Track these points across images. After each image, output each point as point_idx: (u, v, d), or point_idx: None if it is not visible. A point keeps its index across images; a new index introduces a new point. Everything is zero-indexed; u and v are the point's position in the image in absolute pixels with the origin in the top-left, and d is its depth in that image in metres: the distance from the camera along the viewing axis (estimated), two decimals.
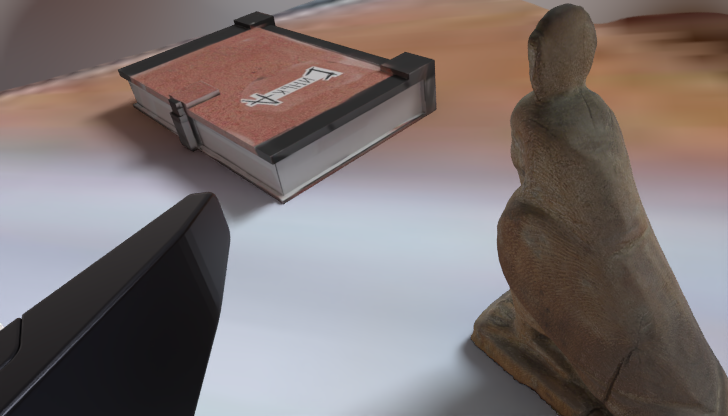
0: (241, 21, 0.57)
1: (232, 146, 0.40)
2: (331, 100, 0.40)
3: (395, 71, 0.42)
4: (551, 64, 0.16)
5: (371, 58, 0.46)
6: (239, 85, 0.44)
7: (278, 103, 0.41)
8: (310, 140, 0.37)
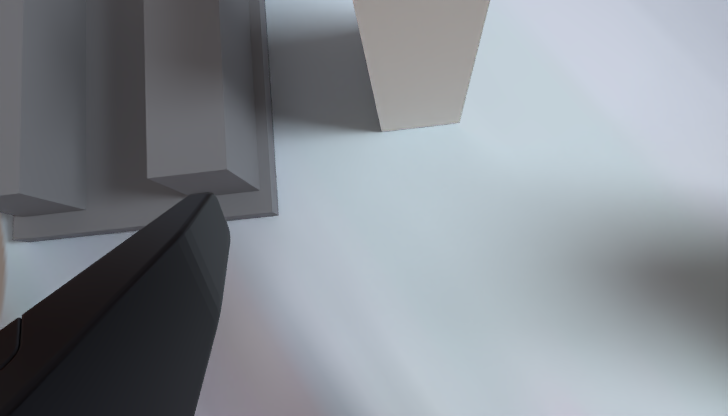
0: None
1: None
2: None
3: None
4: None
5: None
6: None
7: None
8: None
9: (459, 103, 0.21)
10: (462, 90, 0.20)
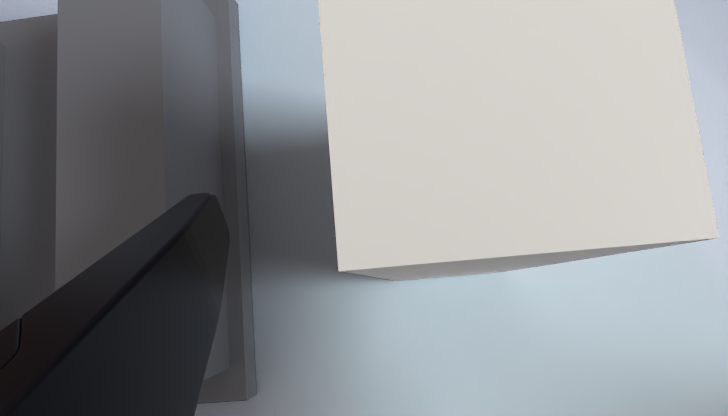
0: None
1: None
2: None
3: None
4: None
5: None
6: None
7: None
8: None
9: None
10: None
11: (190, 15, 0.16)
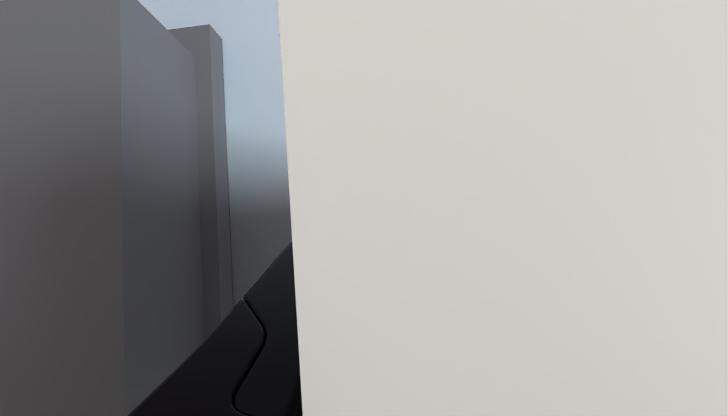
0: None
1: None
2: None
3: None
4: None
5: None
6: None
7: None
8: None
9: None
10: None
11: (161, 62, 0.14)
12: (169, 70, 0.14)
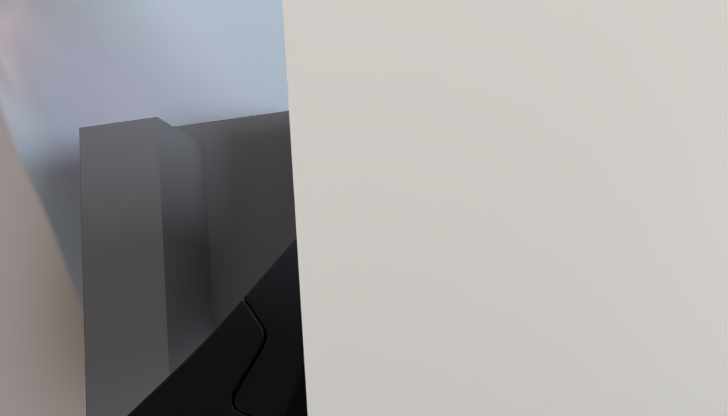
0: None
1: None
2: None
3: None
4: None
5: None
6: None
7: None
8: None
9: None
10: None
11: None
12: None
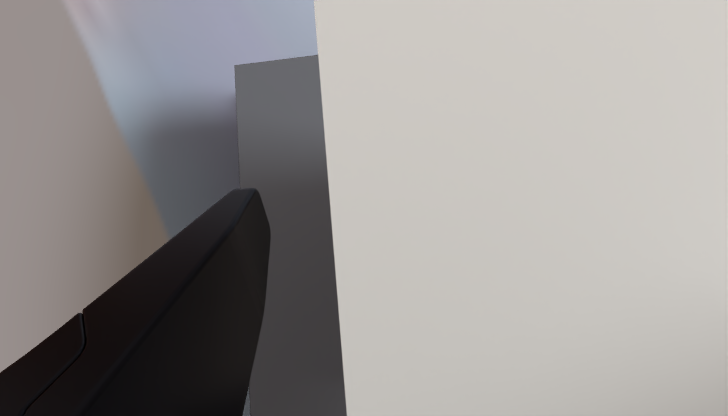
0: None
1: None
2: None
3: None
4: None
5: None
6: None
7: None
8: None
9: None
10: None
11: None
12: None
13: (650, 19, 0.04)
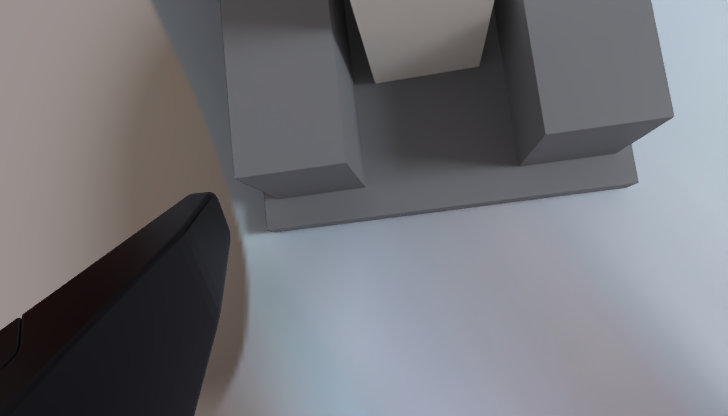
0: None
1: None
2: None
3: None
4: None
5: None
6: None
7: None
8: None
9: (480, 33, 0.15)
10: (484, 10, 0.14)
11: None
12: None
13: None
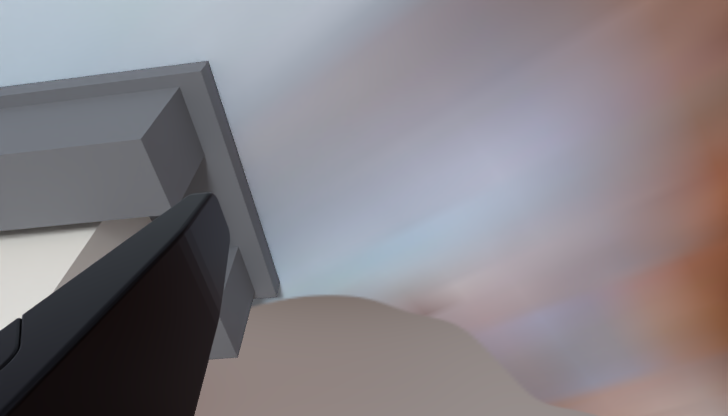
0: None
1: None
2: None
3: None
4: None
5: None
6: None
7: None
8: None
9: None
10: (93, 241, 0.19)
11: None
12: None
13: None
